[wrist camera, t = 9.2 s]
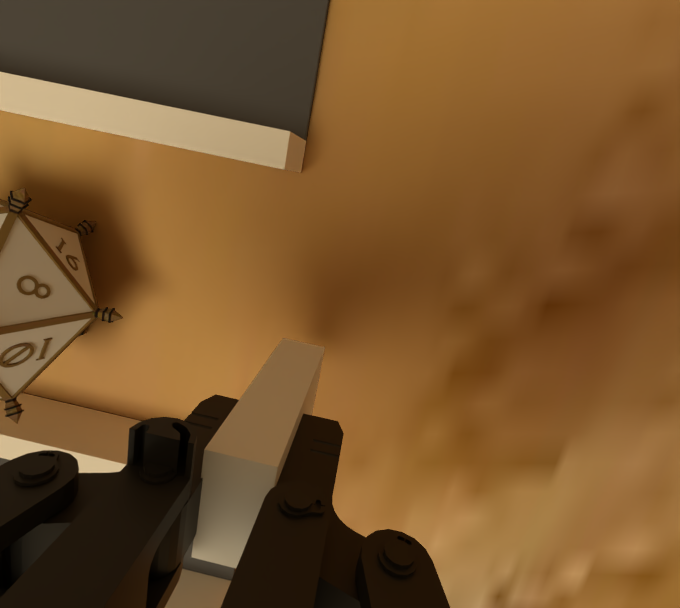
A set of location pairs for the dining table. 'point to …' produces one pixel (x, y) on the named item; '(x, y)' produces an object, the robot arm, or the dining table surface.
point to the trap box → (159, 127)
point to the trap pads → (176, 64)
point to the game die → (40, 295)
